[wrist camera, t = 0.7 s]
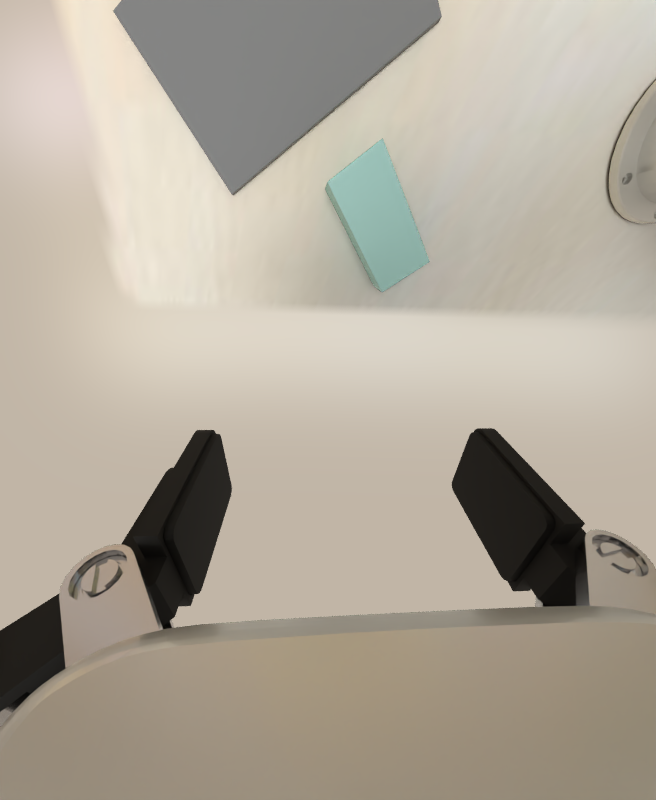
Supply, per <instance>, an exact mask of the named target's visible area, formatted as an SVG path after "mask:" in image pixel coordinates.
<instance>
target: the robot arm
mask: <svg viewBox="0 0 656 800" xmlns="http://www.w3.org/2000/svg"><path fill="white" fill-rule="evenodd" d="M609 192H610V197H611V202H612V203H613V205H614V207H615V209H616V211H617V212H618V213H619V214H620V215H621V216H622V217H623V218H625V219H627V220H629V221H631V222H636V223H656V81H655V82H654V83H653V84H652V85H651V86H650V87H649V89H648V90H647V91H646V93H645V94H644V95H643V97H642V98H641V99H640V101H639V102H638V104H637V105H636V107H635V108H634V110H633V112H632V113H631V115H630V117H629V119H628V120H627V122H626V124H625V126H624V128H623V130H622V132H621V135H620V137H619V139H618V141H617V144H616V147H615V151H614V154H613V157H612V161H611V166H610V172H609ZM452 488H453V491H454V493H455V495H456V496H457V498H458V500H459V502H460V504H461V506H462V507H463V509H464V511H465V513H466V514H467V516H468V518H469V520H470V522H471V524H472V525H473V527H474V529H475V531H476V532H477V534H478V536H479V538H480V539H481V541H482V543H483V545H484V547H485V549H486V550H487V552H488V554H489V556H490V557H491V559H492V561H493V563H494V565H495V566H496V568H497V570H498V572H499V574H500V575H501V577H502V578H503V579H504V580H506V581H508V583H509V585H510V586H511V588H512V590H513V591H529V590H530V589H532V591H533V592H534V594H535V595H536V603H535V607H523V608H499V609H475V610H452V611H432V612H411V613H391V614H369V615H350V616H332V617H312V618H294V619H275V620H257V621H244V622H230V623H216V624H202V625H193V626H185V627H177V628H174V626H173V623H172V620H171V619H172V618H174V617H175V614H176V612H177V609H178V606H191V603H192V600H193V597H194V594H198V593H200V591H201V589H202V586H203V583H204V580H205V577H206V574H207V570H208V567H209V564H210V561H211V558H212V554H213V551H214V548H215V545H216V541H217V538H218V535H219V532H220V529H221V525H222V522H223V518H224V516H225V512H226V509H227V506H228V503H229V499H230V497H231V491H232V488H231V481H230V477H229V472H228V467H227V463H226V458H225V453H224V449H223V444H222V439H221V436H220V434H216V433H215V431H214V430H197V431H196V432H195V433H194V435H193V437H192V438H191V440H190V442H189V443H188V445H187V446H186V448H185V450H184V452H183V453H182V455H181V457H180V458H179V460H178V462H177V463H176V465H175V467H174V468H170V469H169V470H168V471H167V472H166V473H165V475H164V476H163V478H162V480H161V481H160V483H159V484H158V486H157V488H156V489H155V491H154V492H153V494H152V496H151V497H150V499H149V500H148V502H147V504H146V505H145V507H144V509H143V510H142V512H141V513H140V515H139V517H138V518H137V520H136V522H135V523H134V525H133V527H132V528H131V530H130V531H129V533H128V534H127V536H126V538H125V539H124V541H123V542H122V544H114V545H109V546H105V547H103V548H100V549H98V550H96V551H94V552H92V553H91V554H89V555H87V556H86V557H84V558H83V559H82V560H81V561H80V562H78V563H77V564H76V565H75V566H74V567H73V568H72V569H71V571H70V572H69V573H68V574H67V576H66V577H65V579H64V581H63V583H62V585H61V587H60V593H59V594H58V595H56V596H55V597H53V598H51V599H50V600H48V601H47V602H45V603H44V604H42V605H40V606H39V607H37V608H36V609H34V610H32V611H31V612H29V613H28V614H26V615H24V616H23V617H21V618H20V619H18V620H17V621H15V622H14V623H12V624H10V625H9V626H7V627H5V628H4V629H2V630H1V631H0V800H656V569H655V567H654V565H653V563H652V562H651V561H650V559H649V558H648V557H647V556H646V555H645V554H644V553H643V552H642V551H641V550H639V549H638V548H637V547H636V546H634V545H633V544H631V543H630V542H628V541H627V540H625V539H623V538H622V537H620V536H618V535H616V534H613V533H610V532H607V531H603V530H590V531H589V532H587V533H585V532H584V530H583V529H582V528H581V527H582V526H583V525H584V524H585V523H584V522H583V521H582V520H581V519H580V518H579V517H578V516H577V515H576V514H575V512H574V511H573V510H572V509H571V508H570V507H569V506H568V505H567V504H566V503H565V502H564V501H563V500H562V499H561V498H560V497H559V496H558V495H557V494H556V493H555V492H554V491H553V489H552V488H551V487H550V486H549V485H548V484H547V483H546V482H545V481H544V480H543V479H542V478H541V477H540V476H539V475H538V474H537V473H536V472H535V471H534V470H533V469H532V467H531V466H530V465H529V464H528V463H527V462H526V461H525V460H524V459H523V458H522V457H521V456H520V455H519V454H518V453H517V452H516V451H515V450H514V449H513V448H512V447H511V446H510V444H508V442H507V441H506V440H505V439H504V438H503V437H502V436H501V435H500V434H499V433H498V432H497V431H496V430H495V429H491V428H490V429H476V430H475V431H474V432H473V433H471V434H470V436H469V439H468V441H467V444H466V446H465V449H464V452H463V454H462V457H461V460H460V463H459V465H458V468H457V470H456V473H455V475H454V478H453V481H452Z"/></svg>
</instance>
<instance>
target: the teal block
mask: <svg viewBox="0 0 656 800" xmlns="http://www.w3.org/2000/svg"><path fill="white" fill-rule="evenodd" d="M325 190H326V192H327V194H328V196H329V198H330V200H331V202H332V204H333V206H334V208H335V210H336V212H337V214H338V216H339V218H340V220H341V222H342V223H343V225H344V227H345V229H346V231H347V233H348V235H349V237H350V239H351V241H352V243H353V245H354V247H355V249H356V251H357V253H358V255H359V257H360V259H361V261H362V263H363V265H364V267H365V269H366V271H367V273H368V275H369V277H370V279H371V281H372V283H373V285H374V287H375V288H377V289H378V290H379V291H381V292H384V291H385V290H387V289H388V288H390V287H391V286H393V285H394V284H396V283H398V282H399V281H401V280H402V279H404V278H405V277H407V276H408V275H410V274H411V273H413V272H415V271H416V270H418V269H419V268H421V267H422V266H424V265H425V264H427V263H429V262H430V261H429V259H428V256H427V253H426V251H425V248H424V245H423V243H422V240H421V238H420V235H419V232H418V230H417V227H416V224H415V222H414V219H413V217H412V214H411V211H410V209H409V206H408V203H407V201H406V198H405V196H404V193H403V190H402V188H401V185H400V182H399V180H398V177H397V175H396V172H395V169H394V167H393V164H392V161H391V159H390V156H389V154H388V151H387V148H386V146H385V143H384V141H383V138H382V139H381V140H380V141H379V142H377V143H376V144H375V145H374V146H372V147H371V148H370V149H368V150H367V151H366V152H365V153H363V154H362V155H361V156H360V157H358V158H357V159H356V160H355V161H353V162H352V163H351V164H350V165H348V166H347V167H346V168H344V169H343V170H342V171H341V172H339V173H338V174H337V175H336V176H334V177H333V178H332V179H331V180H329V181H328V182H327V185H326V188H325Z"/></svg>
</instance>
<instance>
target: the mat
mask: <svg viewBox="0 0 656 800" xmlns="http://www.w3.org/2000/svg"><path fill="white" fill-rule="evenodd" d="M113 11H114V13H115V15H116V16H117V18H118V19H119V21H120V22H121V24H122V25H123V27H124V28H125V30H126V32H127V33H128V35H129V36H130V38H131V39H132V41H133V42H134V44H135V45H136V47H137V49H138V50H139V52H140V53H141V55H142V56H143V58H144V59H145V61H146V62H147V64H148V66H149V67H150V69H151V70H152V72H153V73H154V75H155V76H156V78H157V79H158V81H159V83H160V84H161V86H162V87H163V89H164V90H165V92H166V93H167V95H168V96H169V98H170V99H171V101H172V103H173V104H174V106H175V107H176V109H177V110H178V112H179V113H180V115H181V116H182V118H183V120H184V121H185V123H186V124H187V126H188V127H189V129H190V130H191V132H192V133H193V135H194V137H195V138H196V140H197V141H198V143H199V144H200V146H201V147H202V149H203V150H204V152H205V154H206V155H207V157H208V158H209V160H210V161H211V163H212V164H213V166H214V167H215V169H216V171H217V172H218V174H219V175H220V177H221V178H222V180H223V181H224V183H225V184H226V186H227V187H228V189H229V191H230V192H231V194H232V195H234V194H235V193H236V192H238V191H239V190H240V189H241V188H242V187H244V186H245V185H246V184H247V183H248V182H249V181H251V180H252V179H253V178H254V177H255V176H257V175H258V174H259V173H260V172H261V171H262V170H264V169H265V168H266V167H267V166H268V165H270V164H271V163H272V162H273V161H274V160H276V159H277V158H278V157H279V156H280V155H281V154H283V153H284V152H285V151H286V150H287V149H289V148H290V147H291V146H292V145H293V144H294V143H296V142H297V141H298V140H299V139H300V138H302V137H303V136H304V135H305V134H306V133H307V132H309V131H310V130H311V129H312V128H313V127H315V126H316V125H317V124H318V123H319V122H320V121H322V120H323V119H324V118H325V117H326V116H328V115H329V114H330V113H331V112H332V111H334V110H335V109H336V108H337V107H338V106H339V105H341V104H342V103H343V102H344V101H345V100H347V99H348V98H349V97H350V96H351V95H352V94H354V93H355V92H356V91H357V90H358V89H360V88H361V87H362V86H363V85H364V84H365V83H367V82H368V81H369V80H370V79H371V78H373V77H374V76H375V75H376V74H377V73H379V72H380V71H381V70H382V69H383V68H384V67H386V66H387V65H388V64H389V63H390V62H392V61H393V60H394V59H395V58H396V57H397V56H399V55H400V54H401V53H402V52H403V51H405V50H406V49H407V48H408V47H409V46H410V45H412V44H413V43H414V42H415V41H416V40H418V39H419V38H420V37H421V36H422V35H423V34H425V33H426V32H427V31H428V30H429V29H431V28H432V27H433V26H434V25H435V24H437V23H438V22H439V20H440V18H441V17H442V16H441V12H440V7H439V3H438V0H122V1H121V2H120V3H119V4H118V5H117V7H116V8H115V9H114V10H113Z"/></svg>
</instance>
